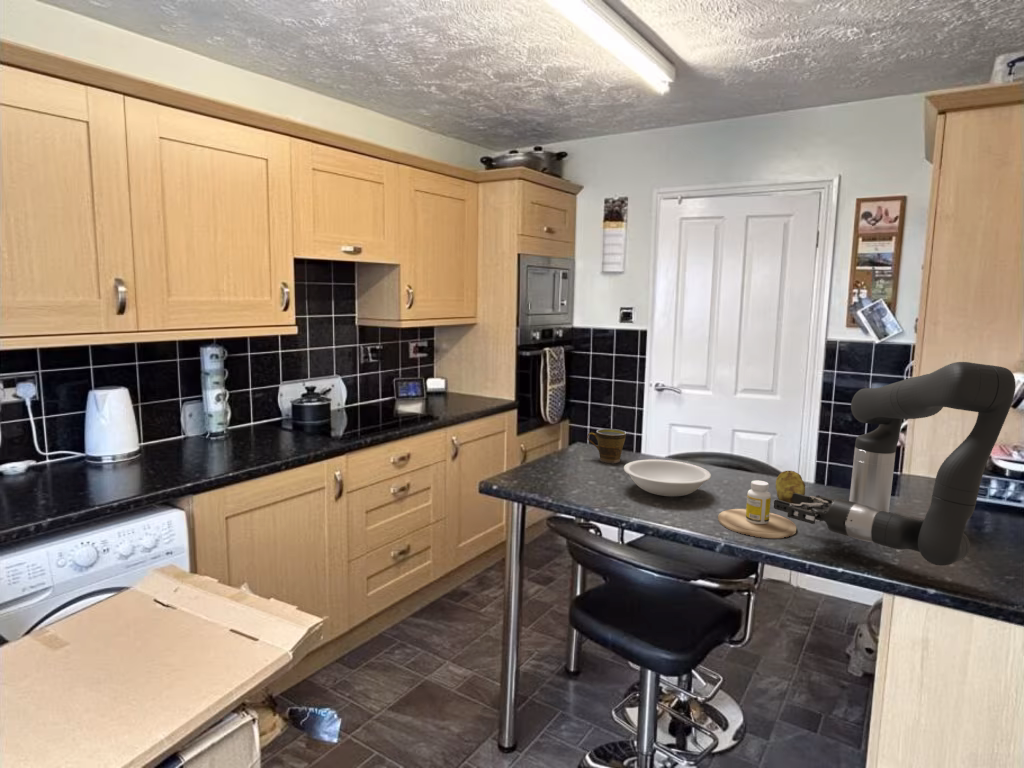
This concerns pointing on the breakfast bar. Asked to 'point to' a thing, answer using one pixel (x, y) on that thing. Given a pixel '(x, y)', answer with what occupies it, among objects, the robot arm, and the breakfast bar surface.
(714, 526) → the breakfast bar surface
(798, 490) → the potato
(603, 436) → the ceramic cup
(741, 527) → the round wooden board
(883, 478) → the robot arm
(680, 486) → the soup bowl
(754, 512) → the supplement bottle
